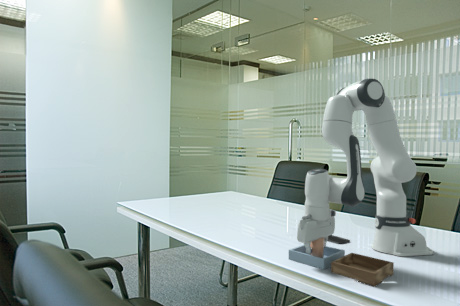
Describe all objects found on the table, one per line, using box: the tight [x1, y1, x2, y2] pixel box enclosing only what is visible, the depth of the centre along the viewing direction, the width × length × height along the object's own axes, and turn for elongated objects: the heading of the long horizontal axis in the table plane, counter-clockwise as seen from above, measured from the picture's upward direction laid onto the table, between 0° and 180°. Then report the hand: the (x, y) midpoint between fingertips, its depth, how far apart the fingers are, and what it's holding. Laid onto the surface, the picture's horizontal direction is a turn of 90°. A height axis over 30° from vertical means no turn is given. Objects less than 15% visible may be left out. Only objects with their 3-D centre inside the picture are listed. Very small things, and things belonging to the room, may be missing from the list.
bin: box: [288, 244, 346, 270], centre depth 129 cm, size 15×15×4 cm
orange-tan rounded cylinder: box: [310, 238, 324, 258], centre depth 129 cm, size 5×5×8 cm
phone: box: [327, 234, 351, 245], centre depth 159 cm, size 8×1×15 cm
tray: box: [330, 252, 395, 287], centre depth 116 cm, size 15×15×4 cm
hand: (316, 250), depth 129 cm, fingers open, 8 cm apart
